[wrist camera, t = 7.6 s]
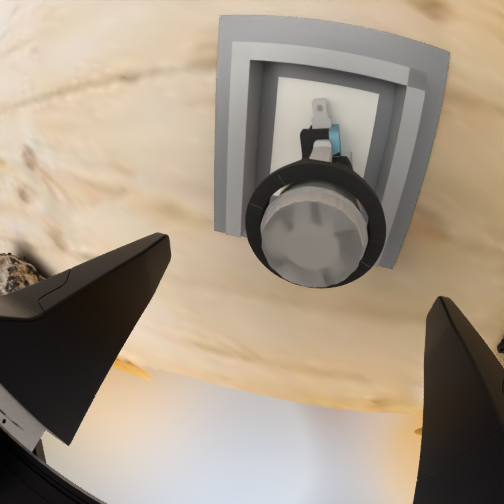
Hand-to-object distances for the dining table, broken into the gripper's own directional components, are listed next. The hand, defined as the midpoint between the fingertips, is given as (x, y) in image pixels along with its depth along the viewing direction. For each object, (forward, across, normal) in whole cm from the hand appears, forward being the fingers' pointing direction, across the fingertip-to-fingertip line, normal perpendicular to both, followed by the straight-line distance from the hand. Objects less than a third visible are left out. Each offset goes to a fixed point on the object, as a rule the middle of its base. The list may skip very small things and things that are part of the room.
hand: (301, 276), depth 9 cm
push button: (+12, 0, -1) cm, 12 cm away
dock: (+12, +1, -1) cm, 12 cm away
